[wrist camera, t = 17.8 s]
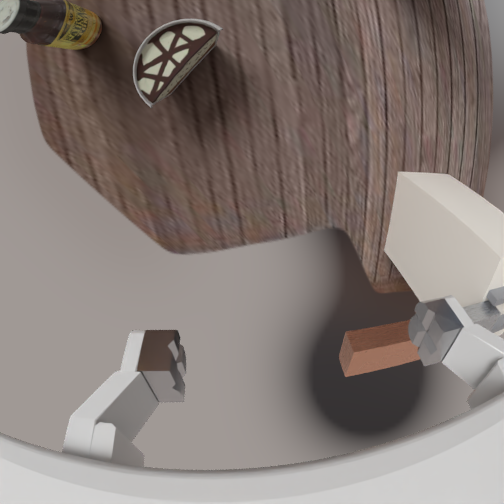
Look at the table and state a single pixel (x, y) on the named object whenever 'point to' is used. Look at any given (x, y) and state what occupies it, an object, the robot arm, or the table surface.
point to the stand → (447, 241)
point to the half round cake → (171, 56)
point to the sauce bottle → (50, 23)
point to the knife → (396, 342)
